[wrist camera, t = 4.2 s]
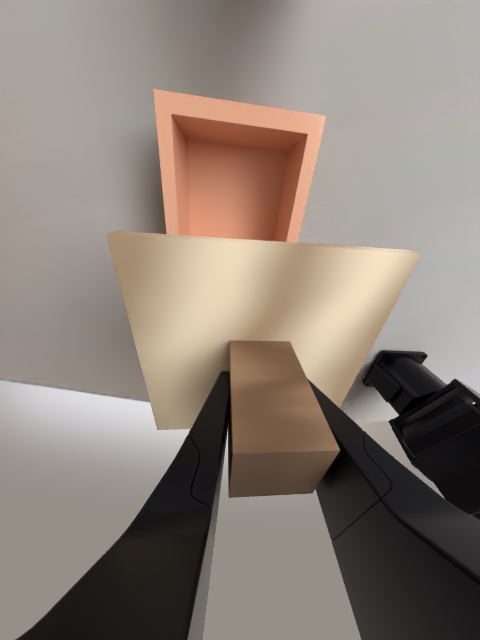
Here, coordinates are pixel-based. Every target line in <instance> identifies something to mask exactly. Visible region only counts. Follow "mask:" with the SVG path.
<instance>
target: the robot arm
mask: <svg viewBox="0 0 480 640" xmlns="http://www.w3.org/2000/svg"><path fill="white" fill-rule="evenodd" d="M426 358H427V354H425V353H424V352H407V351H382V352H381V353H380V354H379V356H378V358H377V359H376V361H375V363H374V364H373V366H372V368H371V369H370V371H369V373H368V375H367V376H366V378H365V380H364V381H363V384H364V386H366V387H375V388H376V390H377V391H378V392H379V393H380V395H381V396H382V397H383V398H384V400H385V401H386V402H389V403H390V405H391V406H392V407H393V408H394V410H395V411H396V412H397V413H398V415H399V416H398V417H396V418H395V419H391V420H390V421H389V423H390V425H391V427H392V430H393V432H394V433H395V435H396V437H397V439H398V441H399V442H400V444H401V446H402V448H403V450H404V452H405V453H406V455H407V457H408V459H409V460H410V462H411V464H412V465H413V466H414V467H415V468H416V469H419V470H420V472H422V473H423V474H424V475H425V476H426V477H427V478H428V479H429V480H431V481H432V482H434V484H435V485H436V486H437V488H438V489H439V491H440V492H441V493H442V495H443V496H444V498H445V499H446V500H445V499H444V498H443V497H441V496H440V495H439V494H438V493H436V492H435V491H434V490H433V489H431V488H430V487H429V486H428V485H427V484H425V483H424V482H423V481H422V480H420V479H419V478H418V477H417V476H416V475H414V474H413V473H412V472H411V471H409V470H408V469H407V468H406V467H405V466H403V465H402V464H401V463H400V462H399V461H397V460H396V459H395V458H394V457H393V456H391V455H390V454H389V453H388V452H387V451H386V450H384V449H383V448H382V447H381V446H380V445H379V444H378V443H377V442H376V441H374V440H373V439H372V438H371V437H370V436H369V435H368V434H367V433H366V432H365V431H362V429H361V428H360V427H359V426H358V425H357V424H356V423H355V422H354V421H353V420H352V419H351V418H350V417H348V416H347V415H346V414H345V413H344V412H343V411H342V410H341V409H340V408H339V407H338V406H337V405H336V404H335V403H333V402H332V401H331V400H330V399H329V398H328V397H327V396H326V395H325V394H324V393H323V392H322V391H321V390H319V389H318V388H317V387H316V386H315V385H314V384H313V383H312V382H311V381H310V380H309V379H308V378H307V379H308V382H309V384H310V386H311V388H312V390H313V392H314V395H315V397H316V399H317V401H318V403H319V405H320V408H321V410H322V412H323V414H324V416H325V418H326V421H327V423H328V425H329V427H330V429H331V432H332V434H333V436H334V438H335V440H336V442H337V445H338V447H339V449H340V451H339V453H338V455H337V456H336V458H335V459H334V461H333V462H332V464H331V465H330V467H329V468H328V470H327V471H326V473H325V475H324V476H323V478H322V479H321V481H320V482H319V484H318V485H317V487H316V488H315V489H316V492H317V495H318V498H319V502H320V505H321V508H322V512H323V515H324V518H325V521H326V525H327V528H328V531H329V534H330V538H331V540H332V545H333V548H334V551H335V554H336V558H337V561H338V564H339V568H340V571H341V574H342V577H343V581H344V584H345V587H346V591H347V593H348V597H349V600H350V604H351V607H352V610H353V614H354V617H355V620H356V623H357V627H358V630H359V633H360V636H361V640H480V394H479V393H477V392H476V391H474V390H473V389H471V388H470V387H468V386H466V385H465V384H463V383H462V382H460V381H458V380H457V379H454V380H452V381H451V383H450V384H448V385H446V384H445V383H444V382H443V381H441V380H440V379H439V378H438V377H437V376H435V375H434V374H433V373H432V372H431V371H429V370H428V369H427V368H426V367H425V366H423V365H422V363H423V362H424V360H425V359H426ZM473 402H476V403H475V404H472V403H473ZM229 406H230V372H229V371H221V372H220V374H219V376H218V378H217V380H216V382H215V384H214V386H213V388H212V389H211V391H210V393H209V395H208V397H207V399H206V401H205V403H204V405H203V407H202V409H201V410H200V412H199V414H198V416H197V418H196V420H195V422H194V424H193V426H192V428H191V430H190V431H189V435H187V437H186V439H185V441H184V443H183V445H182V446H181V448H180V450H179V452H178V453H177V455H176V457H175V459H174V460H173V462H172V463H171V465H170V467H169V468H168V470H167V471H166V473H165V474H164V476H163V477H162V479H161V480H160V482H159V483H158V485H157V486H156V488H155V489H154V491H153V492H152V494H151V495H150V497H149V498H148V500H147V501H146V503H145V504H144V506H143V508H142V509H141V510H140V512H139V513H138V515H137V516H136V518H135V519H134V520H133V522H132V523H131V524H130V526H129V527H128V528H127V530H126V531H125V532H124V533H123V534H122V536H121V537H120V538H119V539H118V540H117V541H116V542H115V543H114V544H113V545H112V547H111V548H110V549H109V550H108V551H107V552H106V553H105V554H104V555H103V556H102V557H101V558H100V559H99V560H98V561H97V562H96V563H95V564H94V565H93V566H92V567H91V568H90V569H89V570H88V571H87V573H85V574H84V576H82V578H81V579H80V580H79V581H78V582H77V583H76V584H75V585H74V586H73V587H72V588H71V589H70V590H69V591H68V592H67V593H66V594H65V595H64V596H63V597H62V598H61V599H60V600H59V601H58V602H57V603H56V604H55V605H54V607H52V609H51V610H50V611H49V612H48V613H47V614H46V615H45V616H44V617H43V618H42V619H41V620H39V621H38V622H37V623H36V624H35V625H34V626H33V627H32V628H31V629H29V630H28V631H27V632H25V633H24V634H23V635H21V636H20V637H19V638H17V639H16V640H202V639H203V630H204V621H205V613H206V605H207V596H208V589H209V580H210V571H211V563H212V555H213V547H214V539H215V530H216V522H217V513H218V505H219V497H220V488H221V480H222V471H223V464H224V455H225V447H226V439H227V430H228V421H229Z"/></svg>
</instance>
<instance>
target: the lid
mask: <svg viewBox="0 0 480 640" xmlns="http://www.w3.org/2000/svg"><path fill="white" fill-rule="evenodd" d="M106 235H107V239H108V243H109V247H110V251H111V254H112V258H113V262H114V266H115V270H116V273H117V277H118V281H119V285H120V289H121V293H122V296H123V300H124V304H125V308H126V312H127V315H128V319H129V323H130V327H131V331H132V335H133V338H134V342H135V346H136V350H137V354H138V357H139V361H140V365H141V369H142V373H143V377H144V380H145V384H146V388H147V392H148V396H149V399H150V403H151V407H152V411H153V414H154V419H155V422H156V426H157V429H158V430H162V429H163V430H164V429H165V430H167V429H191V428H192V426H193V424H194V422H195V420H196V418H197V416H198V414H199V412H200V410H201V409H202V407H203V405H204V403H205V401H206V399H207V397H208V395H209V393H210V391H211V389H212V388H213V386H214V384H215V382H216V380H217V378H218V376H219V374H220V372H221V371H229V372H230V406H229V421H228V466H229V467H228V474H229V475H228V478H229V479H228V480H229V498H231V497H249V496H268V495H289V494H308V493H313V491H314V490H315V488H316V487H317V485H318V484H319V482H320V481H321V479H322V478H323V476H324V475H325V473H326V471H327V470H328V468H329V467H330V465H331V464H332V462H333V461H334V459H335V458H336V456H337V455H338V453H339V451H340V449H339V447H338V445H337V442H336V440H335V438H334V436H333V434H332V432H331V429H330V427H329V425H328V423H327V421H326V418H325V416H324V414H323V412H322V410H321V408H320V405H319V403H318V401H317V399H316V397H315V395H314V392H313V390H312V388H311V386H310V384H309V382H308V379H309V380H310V381H311V382H312V383H313V384H314V385H315V386H316V387H317V388H318V389H319V390H321V391H322V392H323V393H324V394H325V395H326V396H327V397H328V398H329V399H330V400H331V401H332V402H333V403H335V404H336V405H337V406H338V407H339V408H340V406H341V405H342V403H343V401H344V399H345V397H346V395H347V393H348V391H349V389H350V388H351V386H352V384H353V382H354V380H355V378H356V376H357V374H358V372H359V371H360V369H361V367H362V365H363V363H364V361H365V359H366V357H367V356H368V354H369V352H370V350H371V348H372V346H373V344H374V342H375V340H376V339H377V337H378V335H379V333H380V331H381V329H382V327H383V325H384V323H385V322H386V320H387V318H388V316H389V314H390V312H391V310H392V308H393V307H394V305H395V303H396V301H397V299H398V297H399V295H400V293H401V291H402V290H403V288H404V286H405V284H406V282H407V280H408V278H409V276H410V274H411V273H412V271H413V269H414V267H415V265H416V263H417V261H418V259H419V258H420V256H421V254H420V253H416V252H412V251H408V250H401V249H386V248H370V247H355V246H339V245H324V244H309V243H293V242H278V241H262V240H247V239H231V238H216V237H201V236H185V235H170V234H154V233H139V232H124V231H116V232H112V233H108V234H106ZM307 378H308V379H307Z"/></svg>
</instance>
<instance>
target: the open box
mask: <svg viewBox="0 0 480 640" xmlns="http://www.w3.org/2000/svg"><path fill="white" fill-rule="evenodd" d="M153 91H154V102H155V113H156V124H157V135H158V146H159V157H160V168H161V179H162V190H163V201H164V212H165V223H166V234H170V235H185V236H201V237H216V238H231V239H247V240H262V241H278V242H293V243H297V242H298V238H299V234H300V229H301V225H302V221H303V216H304V212H305V207H306V203H307V199H308V194H309V190H310V186H311V181H312V177H313V172H314V168H315V164H316V159H317V155H318V151H319V146H320V142H321V137H322V133H323V129H324V124H325V120H326V116H324V115H317V114H311V113H305V112H298V111H292V110H285V109H279V108H272V107H266V106H260V105H253V104H247V103H240V102H234V101H228V100H221V99H215V98H208V97H202V96H196V95H189V94H183V93H176V92H170V91H164V90H157V89H153Z"/></svg>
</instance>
